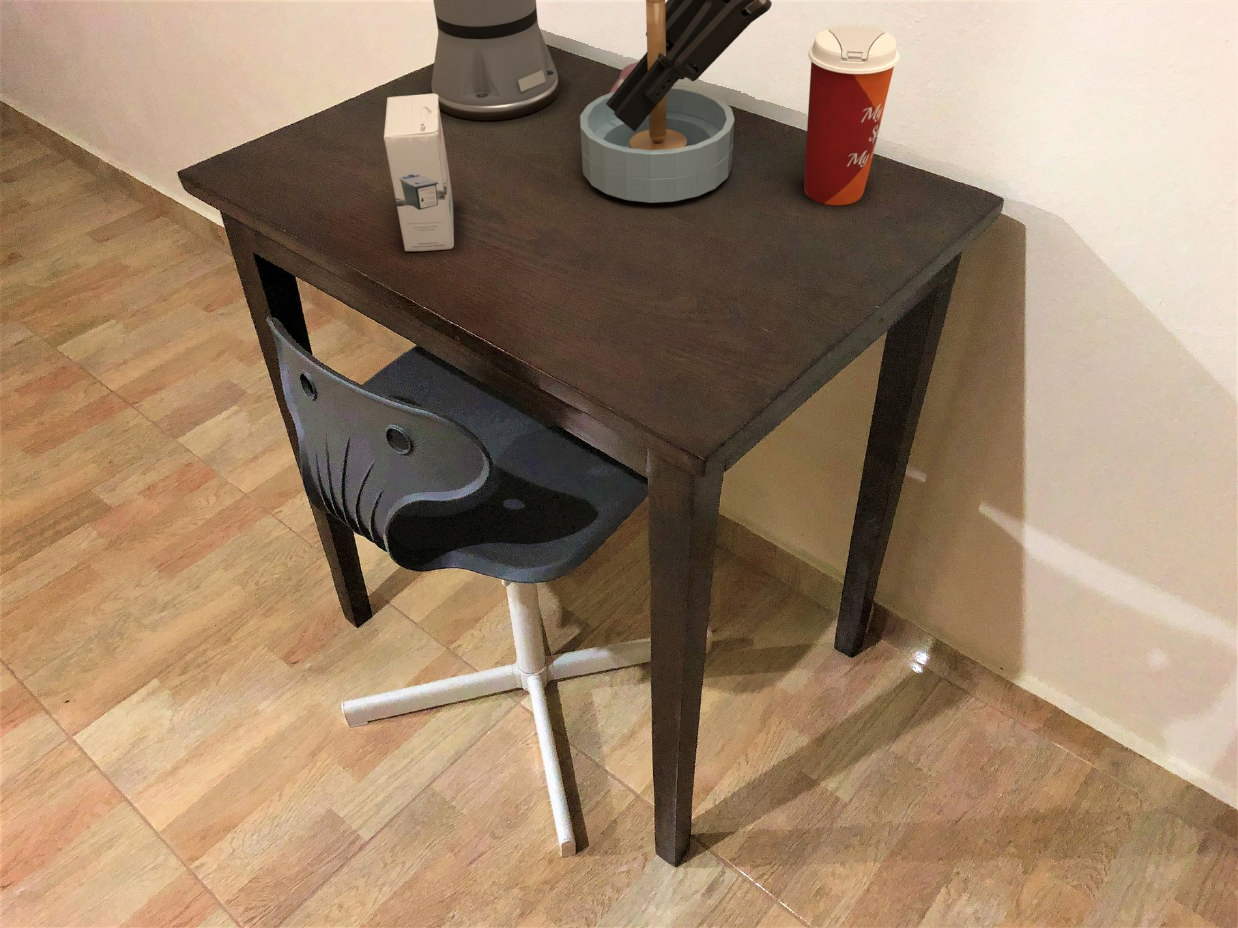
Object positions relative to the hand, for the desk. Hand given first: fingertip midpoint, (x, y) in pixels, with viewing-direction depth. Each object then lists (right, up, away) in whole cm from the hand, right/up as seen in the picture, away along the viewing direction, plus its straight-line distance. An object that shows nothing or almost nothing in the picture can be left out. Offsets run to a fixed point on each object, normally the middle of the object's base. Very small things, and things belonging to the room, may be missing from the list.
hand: (620, 117), depth 93 cm
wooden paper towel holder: (+4, -3, +5) cm, 7 cm away
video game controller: (0, +6, +16) cm, 17 cm away
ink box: (-19, -12, -1) cm, 22 cm away
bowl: (+4, -4, +6) cm, 8 cm away
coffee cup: (+22, -7, +2) cm, 23 cm away
